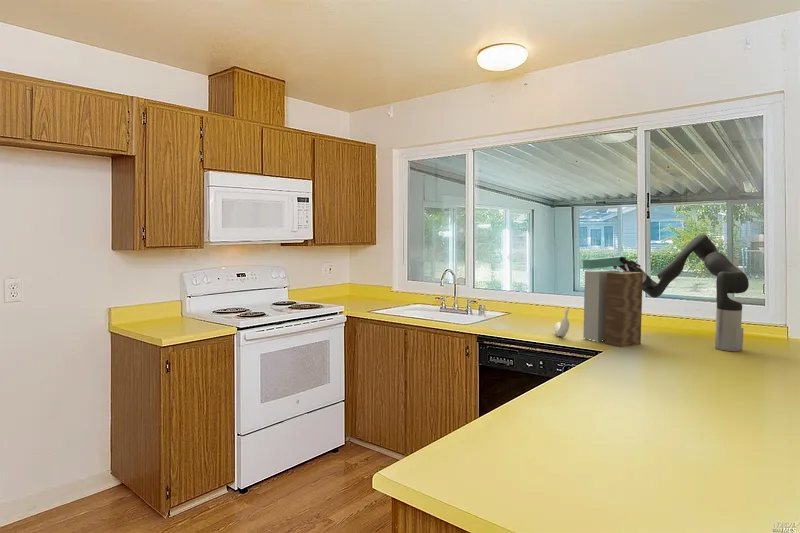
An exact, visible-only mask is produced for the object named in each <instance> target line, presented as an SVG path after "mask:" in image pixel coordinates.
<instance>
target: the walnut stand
mask: <svg viewBox="0 0 800 533" xmlns="http://www.w3.org/2000/svg"><path fill="white" fill-rule="evenodd" d="M642 283H643V273H640V272H623V271H619V272H611V273H607V289H606V327H605V341H604V342H605V343H606V344H605V343H604V344H605V345H608V344H609V346H613V347H618V348H624V347H630V346H634V345H635V346H636V345H641V341H642V312H643V310H642V309H643V307H642V306H643V290H642Z"/></svg>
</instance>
